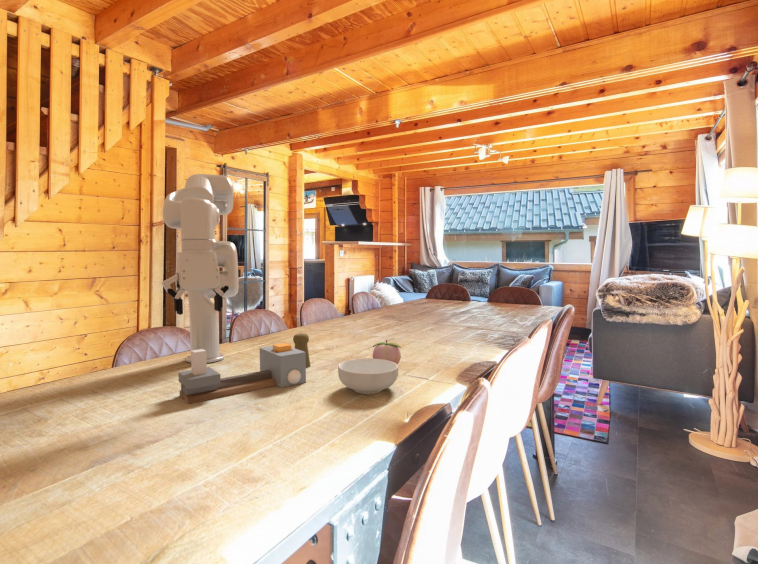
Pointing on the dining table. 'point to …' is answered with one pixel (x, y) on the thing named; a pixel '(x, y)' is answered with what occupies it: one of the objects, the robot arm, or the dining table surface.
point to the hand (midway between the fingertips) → (199, 312)
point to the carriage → (199, 375)
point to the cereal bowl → (367, 374)
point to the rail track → (233, 386)
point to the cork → (302, 345)
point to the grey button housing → (284, 365)
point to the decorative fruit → (387, 352)
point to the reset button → (281, 347)
